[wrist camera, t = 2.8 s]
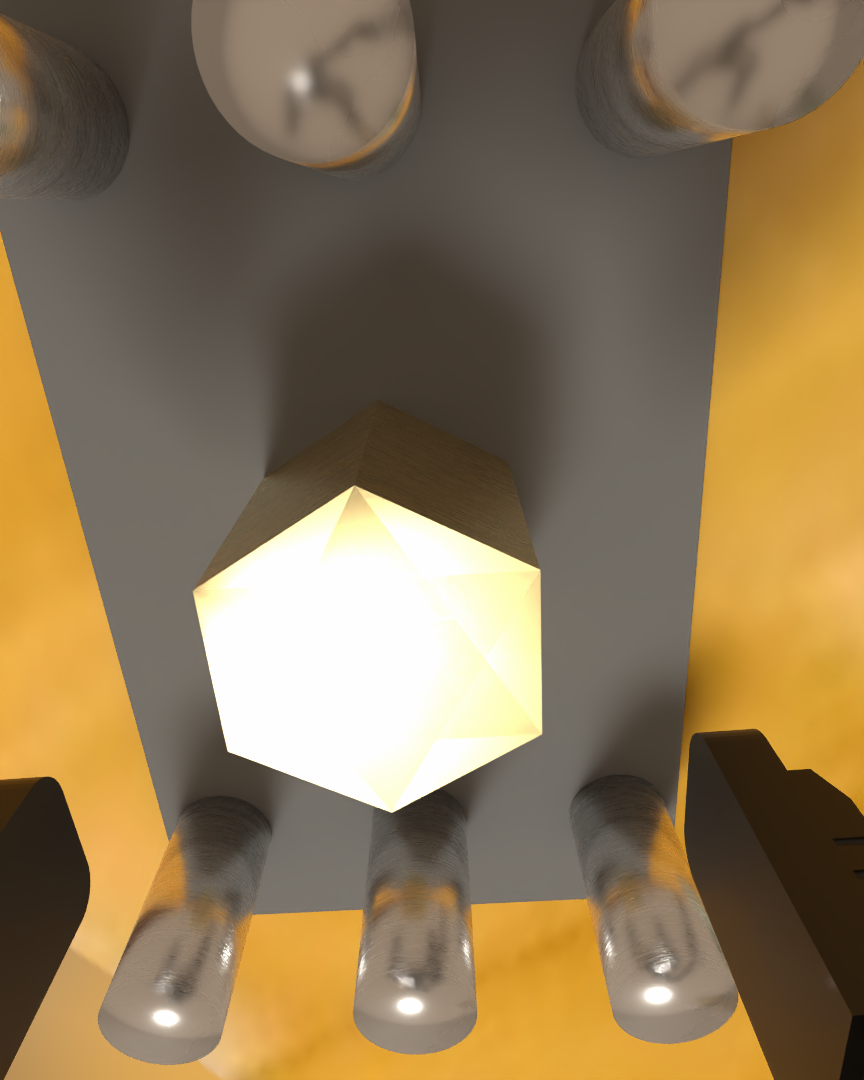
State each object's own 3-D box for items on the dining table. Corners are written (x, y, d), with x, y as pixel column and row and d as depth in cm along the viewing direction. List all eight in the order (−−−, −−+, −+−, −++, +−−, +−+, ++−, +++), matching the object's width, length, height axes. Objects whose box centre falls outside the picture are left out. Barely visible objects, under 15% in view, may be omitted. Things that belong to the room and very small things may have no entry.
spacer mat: (-69, -79, 12) (-88, -90, 12) (744, -147, 12) (757, -162, 11) (195, 902, 21) (190, 917, 20) (663, 879, 21) (668, 894, 20)
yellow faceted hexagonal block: (252, 408, 15) (172, 496, 10) (505, 391, 15) (539, 473, 10) (293, 656, 17) (242, 820, 13) (512, 644, 17) (542, 804, 12)
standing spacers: (-33, 45, 12) (-307, -52, 8) (725, -15, 12) (907, -154, 7) (188, 868, 20) (114, 1067, 15) (661, 845, 19) (732, 1041, 15)
